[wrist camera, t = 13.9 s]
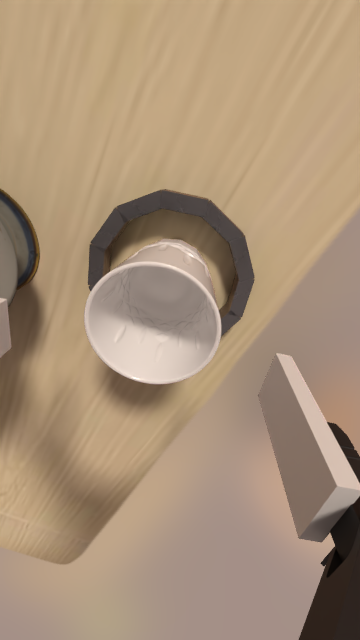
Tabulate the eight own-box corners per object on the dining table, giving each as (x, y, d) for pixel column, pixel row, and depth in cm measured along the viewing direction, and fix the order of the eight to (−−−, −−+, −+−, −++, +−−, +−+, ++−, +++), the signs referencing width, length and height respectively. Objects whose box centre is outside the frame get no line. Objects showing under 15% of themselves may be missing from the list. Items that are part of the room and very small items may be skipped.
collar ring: (224, 352, 28) (226, 363, 26) (93, 324, 28) (85, 334, 26) (270, 212, 22) (276, 214, 20) (102, 175, 21) (93, 174, 20)
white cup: (109, 265, 25) (55, 312, 16) (181, 210, 22) (164, 230, 13) (162, 330, 27) (141, 402, 18) (232, 287, 25) (247, 347, 16)
